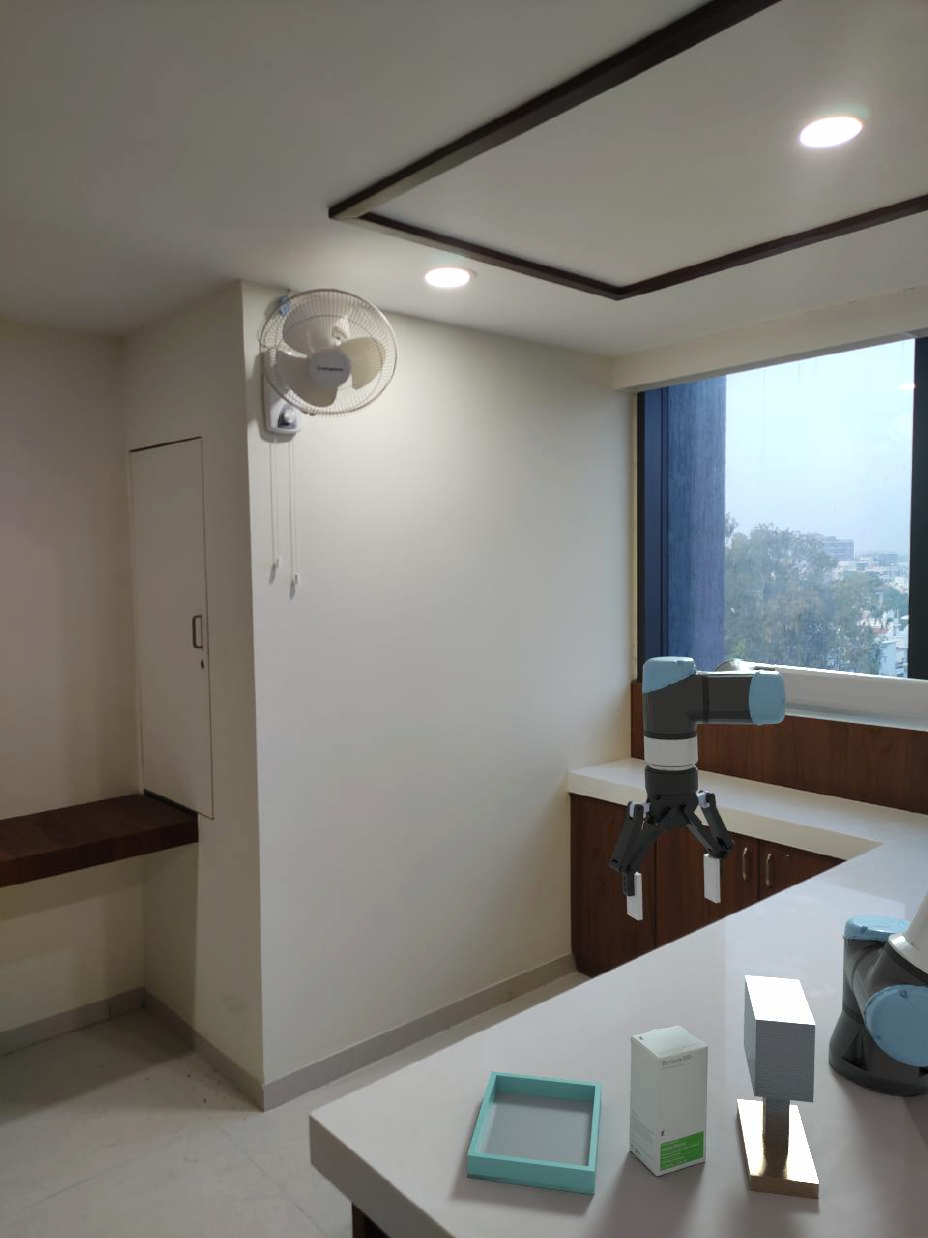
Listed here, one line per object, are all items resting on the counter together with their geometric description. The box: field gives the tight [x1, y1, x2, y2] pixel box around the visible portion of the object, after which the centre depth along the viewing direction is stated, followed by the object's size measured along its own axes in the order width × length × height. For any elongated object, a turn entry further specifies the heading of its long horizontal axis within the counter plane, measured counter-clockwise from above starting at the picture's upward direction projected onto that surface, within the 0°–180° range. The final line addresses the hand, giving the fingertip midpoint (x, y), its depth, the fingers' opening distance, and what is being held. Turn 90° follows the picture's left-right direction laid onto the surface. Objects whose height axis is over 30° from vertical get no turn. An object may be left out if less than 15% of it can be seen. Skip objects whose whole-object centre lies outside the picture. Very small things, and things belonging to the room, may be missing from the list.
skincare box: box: [628, 1025, 709, 1177], centre depth 118 cm, size 8×7×16 cm
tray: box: [466, 1071, 602, 1195], centre depth 122 cm, size 16×19×3 cm
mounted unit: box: [736, 975, 820, 1200], centre depth 118 cm, size 8×16×21 cm, turn 169°
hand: (674, 908), depth 131 cm, fingers open, 13 cm apart
